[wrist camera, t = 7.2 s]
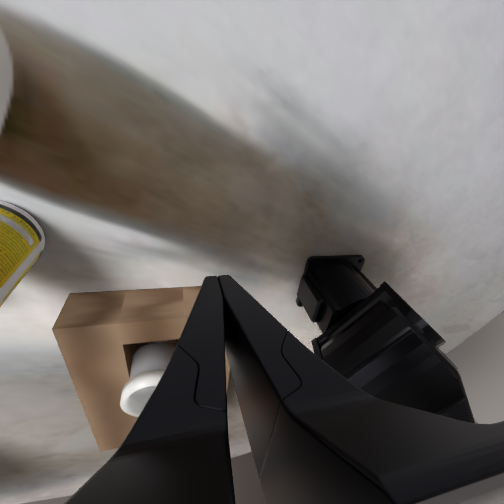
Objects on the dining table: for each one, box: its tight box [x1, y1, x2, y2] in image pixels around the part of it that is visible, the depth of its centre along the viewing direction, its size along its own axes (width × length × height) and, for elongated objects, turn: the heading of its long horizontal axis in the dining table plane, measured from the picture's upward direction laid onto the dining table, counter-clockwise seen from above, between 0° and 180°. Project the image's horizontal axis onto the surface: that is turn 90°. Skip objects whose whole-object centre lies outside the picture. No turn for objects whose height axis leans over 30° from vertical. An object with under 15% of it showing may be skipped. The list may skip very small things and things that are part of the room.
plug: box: [120, 343, 175, 417], centre depth 23 cm, size 5×5×4 cm
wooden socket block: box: [52, 286, 230, 451], centre depth 29 cm, size 14×20×4 cm
